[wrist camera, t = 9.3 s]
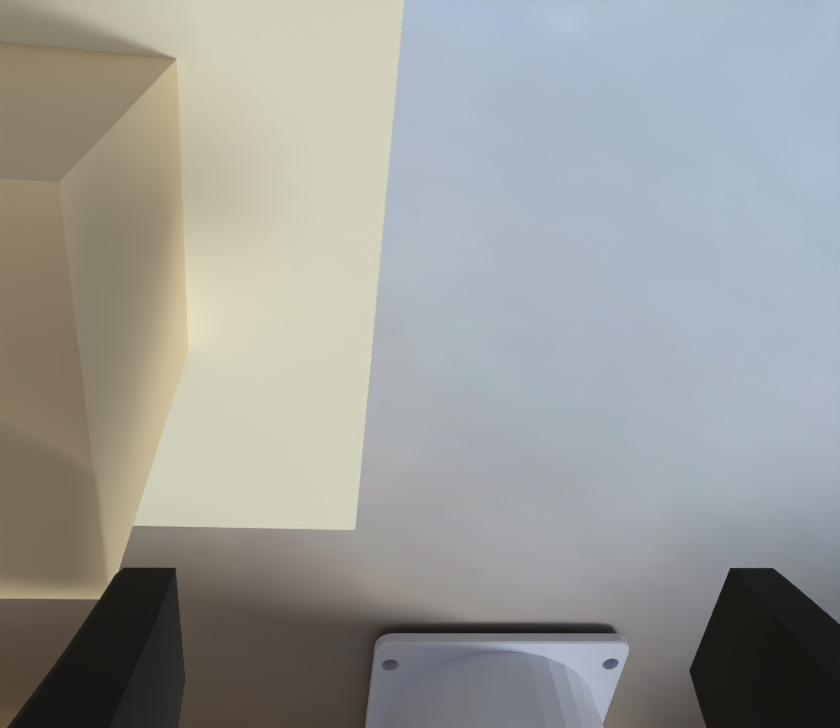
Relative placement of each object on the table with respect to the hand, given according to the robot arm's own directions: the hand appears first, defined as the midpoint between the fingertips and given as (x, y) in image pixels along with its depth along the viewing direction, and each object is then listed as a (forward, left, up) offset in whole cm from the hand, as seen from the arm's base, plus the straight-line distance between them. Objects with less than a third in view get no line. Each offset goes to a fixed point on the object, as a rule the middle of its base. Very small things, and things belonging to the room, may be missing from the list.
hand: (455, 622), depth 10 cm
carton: (+2, +7, -8) cm, 11 cm away
